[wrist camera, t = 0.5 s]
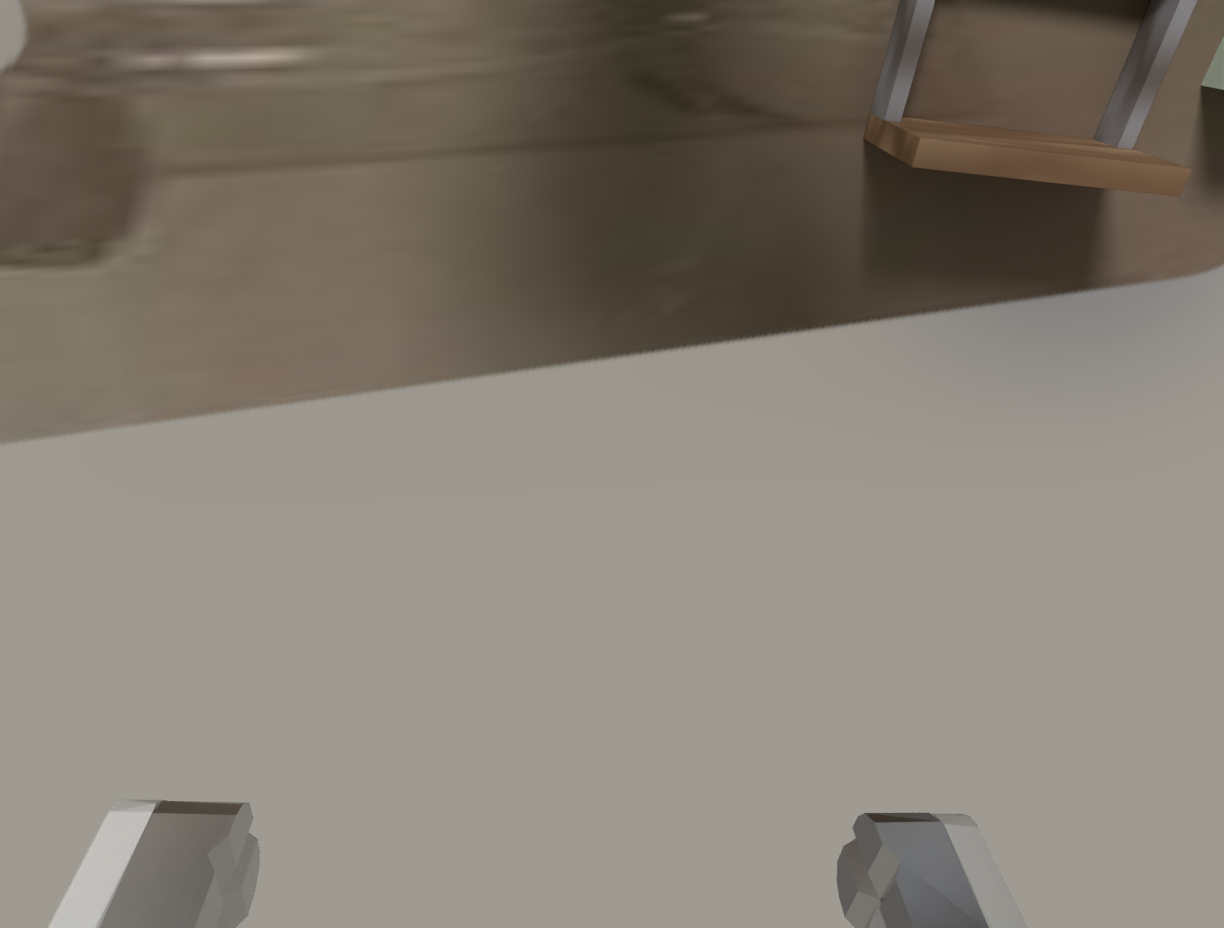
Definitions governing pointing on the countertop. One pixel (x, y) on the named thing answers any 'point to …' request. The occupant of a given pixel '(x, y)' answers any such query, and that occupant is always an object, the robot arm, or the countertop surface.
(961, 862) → the robot arm
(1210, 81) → the cabinet block
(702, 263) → the countertop surface
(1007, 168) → the grey and wood frame
